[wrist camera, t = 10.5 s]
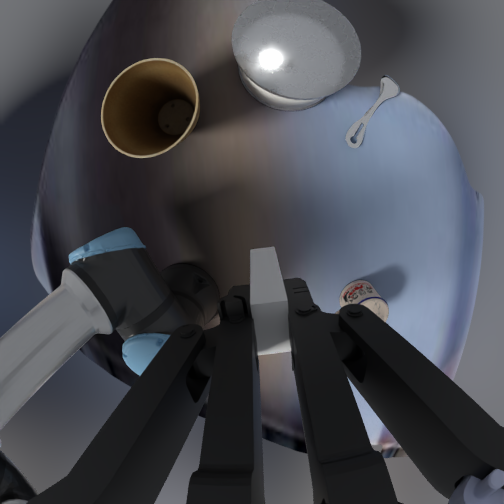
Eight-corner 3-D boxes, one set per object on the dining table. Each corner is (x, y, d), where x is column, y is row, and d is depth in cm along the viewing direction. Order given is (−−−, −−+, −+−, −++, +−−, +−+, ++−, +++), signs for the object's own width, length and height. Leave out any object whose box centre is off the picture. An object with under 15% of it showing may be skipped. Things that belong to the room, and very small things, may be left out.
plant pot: (128, 120, 46) (84, 113, 31) (182, 69, 42) (155, 40, 27) (173, 171, 49) (140, 179, 34) (231, 119, 46) (221, 104, 31)
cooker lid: (239, 104, 34) (238, 102, 33) (226, -8, 26) (225, -13, 25) (365, 101, 34) (369, 100, 32) (343, -7, 26) (346, -11, 24)
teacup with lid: (368, 271, 57) (390, 297, 46) (378, 301, 59) (397, 329, 48) (320, 295, 59) (333, 325, 48) (333, 324, 61) (346, 355, 50)
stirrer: (363, 154, 44) (343, 138, 44) (355, 154, 48) (337, 139, 47) (406, 83, 40) (389, 68, 39) (398, 87, 43) (381, 72, 42)
